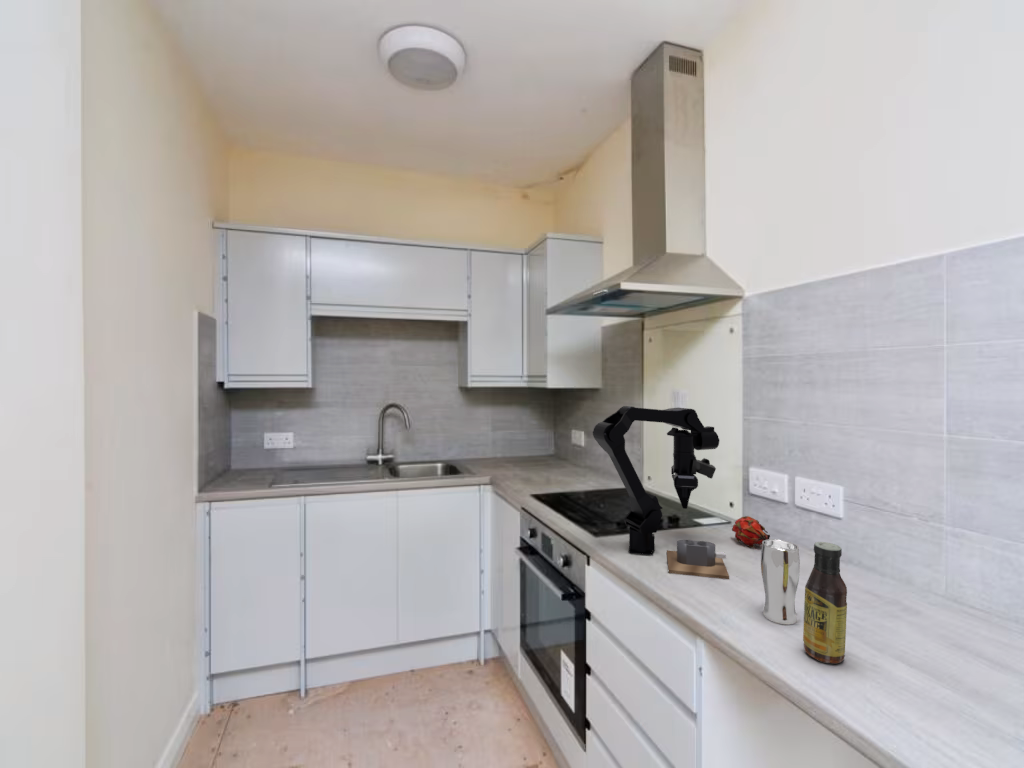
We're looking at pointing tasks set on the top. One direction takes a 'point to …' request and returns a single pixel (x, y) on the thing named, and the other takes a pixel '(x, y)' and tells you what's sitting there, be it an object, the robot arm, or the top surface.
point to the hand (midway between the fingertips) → (683, 504)
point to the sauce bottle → (825, 606)
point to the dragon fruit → (749, 531)
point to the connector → (697, 553)
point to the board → (696, 568)
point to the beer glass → (780, 580)
